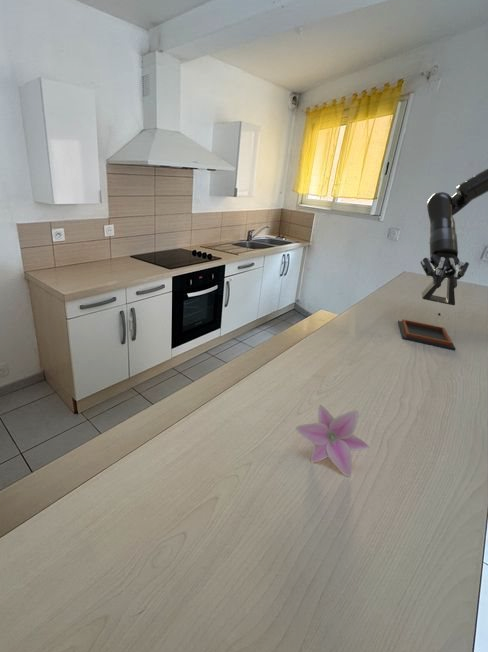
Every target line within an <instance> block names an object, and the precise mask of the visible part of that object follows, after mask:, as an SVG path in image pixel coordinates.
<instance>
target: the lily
mask: <svg viewBox="0 0 488 652" xmlns="http://www.w3.org/2000/svg"><path fill="white" fill-rule="evenodd" d="M358 419H359V410H356V409H354V410H350V411H348V412H344V413H343V414H341V415H338V416H336V417H334V416H333V415H332V414H331V413H330V412H329V410H328V409H327V408H326V407H325V406H324V405H322V404H319V405H318V409H317V421H318V422H313V423H312V422H311V423H305V424H301V425H297V426H296V427H295V431H297V433H299V434H300V436H302V437H303V438H304V439H306V440H307V441H309V442H310V443H312V444H314V446H313V449H312V452H311V455H310V462H311V461H312V462H314V463H319V462H320V461H323V460H325V459H328V458H329V459H330V461H331V462H332V463H333V464H334V465H335V467H336V468H337V469H338V470H339V471H340V472H341V473H342V474H343V475H344V476H345V477H347V478H351V476H352V469H353V467H352V466H353V461H352V460H353V458H352V452H355V451H357V452H358V451H364V450H368V449H370V446H369V444H368V443H366V442H365V441H364V440H362V439H361V438H359V437H358V436H357V435H356V434H354V433H355V431H356V428H357V424H358ZM312 462H311V463H312Z"/></svg>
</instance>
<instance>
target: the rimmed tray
mask: <svg viewBox="0 0 488 652" xmlns="http://www.w3.org/2000/svg"><path fill="white" fill-rule="evenodd" d="M397 324H398V328H399V332H400V335H401V339H402V340H407V341H410V342H415V343H419V344H423V345H429V346H433V347H438V348H442V349H446V350H451V351H456V346H455V345H454V343H453V341H452V339H451V338H450V335H449V334H448V332H447V330H446V328H445V327H444V326H443V327H442V326H438V325H432V324H428V323H423V322H418V321H413V320H408V319H402V320H398V321H397Z"/></svg>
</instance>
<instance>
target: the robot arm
mask: <svg viewBox="0 0 488 652" xmlns="http://www.w3.org/2000/svg"><path fill="white" fill-rule="evenodd" d="M486 193H488V168H486V169H484V170H483V171H481V172H480V171H479V173H476V174H475V175H473V176H471V177H470V178H468V179H466V180H465V181H463V182H461V183H459V185H458V186H456V192H455V194H453V196H451V195H450V194H449V193H448V192H445V191H439V192H436V193H433V194H432V195H431V196H430V197H429V199H428V201H427V203H426V204H427V205H426V208H427V214H428V218H429V242H428V243H429V257H424V258H423V259H422V260H421V261H420V265H421V268H423V271H424V273H425V275H426V276H427V277H432V281H433V285H434V283H436V282H437V280H438V279H439V278H440V276H439V275H440V273H441V271H442V268H443V266H444V265H445V264H448V265H449V267H450V268H449V269H447V270H446V272H449V271H452V270H453V269H452V267H451V264H452V265H453V266H454V268H455V270H456V273H455V275H454V278H453V280H454V289H456V288H457V287H458V280H460V279H461V278H463V277H464V276H465V275H466V272H467V270H468V267H469V265H470V263H469V262H468V261H465V262H463V261H461V260H460V258H459V257H458V255H459V250H458V249H459V248H458V236H457V232H456V222H455V219H454V216H455V215H456V214H457V213H459V212H460V211H461V210H463V209H464V208H465V207H466V206H467V205H469V204H470V203H471V202H472V201H473V200H475V199H477V198H480V197H482V196H483V195H485V194H486ZM457 268H458V270H457ZM441 286H442V283H441V284H438V288H437V289H439V288H441Z"/></svg>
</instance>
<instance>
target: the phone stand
mask: <svg viewBox="0 0 488 652" xmlns="http://www.w3.org/2000/svg"><path fill="white" fill-rule="evenodd" d="M451 267H452V269H453V270H452V271H449V272H446V270H447V269H449V268H450V267H449V265H448V264H445V265H444V266H443V268H442V270H441V273H440V275H439V276H440V278H439V279H438V280H437V282H436V283H434V285H433V280H432V281H431V282H430V283H429V284H428V285H427V287H425V289H424V290H423V291H422V292H421V298H422V300H426V301H430V302H435V303H440V304H445V305H449V306H456V297H455V296H456V295H455V288H454V280H453V278H454V275H455V273H456V272H457V270H455V268H454V266H453V265H452V264H451ZM445 279H446V280H447V281H446V282H447V284H446V297H444V296H441V295H440V296H439V295H434V293H435V292H436V291H437V289H439V288H438V284H441V285H442V283H443V281H444V280H445Z"/></svg>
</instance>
